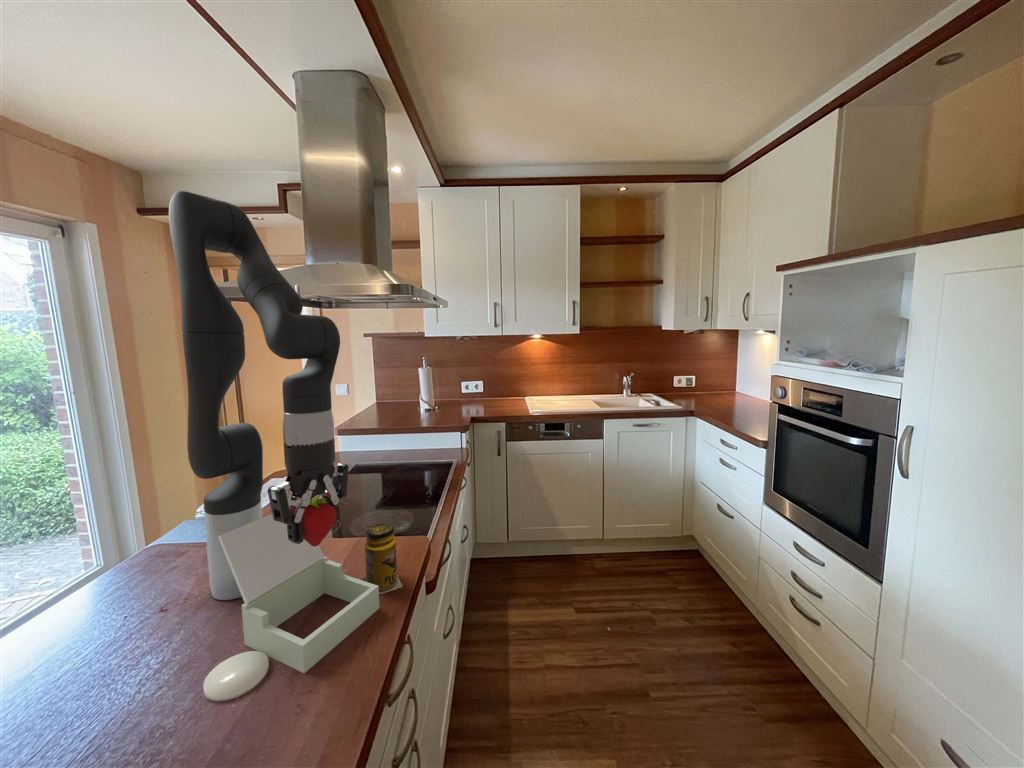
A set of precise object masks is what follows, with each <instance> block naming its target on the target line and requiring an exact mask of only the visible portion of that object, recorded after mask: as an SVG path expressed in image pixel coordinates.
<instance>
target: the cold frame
mask: <svg viewBox="0 0 1024 768" xmlns="http://www.w3.org/2000/svg"><path fill="white" fill-rule="evenodd" d="M218 539H219V541H220V543H221V546H222V548H223V551H224V553H225V556H226V558H227V561H228V563H229V566H230V568H231V571H232V573H233V575H234V578H235V580H236V583H237V585H238V588H239V590H240V593H241V595H242V597H241V599H243V602H244V603H242V604H241V616H242V628H243V630H242V631H243V641H244V643H243V644H244V645H245V646H247V647H249V648H251V649H253V650H254V651H259V652H262V653H264V654H266V655H267V657H268V658H271V659H273V660H275V661H277V662H279V663H282V664H284V665H286V666H287V667H290V668H291V669H294V670H296V671H298V672H300V673H302V674H306V673H307V672H308V671H309V670H310V669H311V668H312V667H314V666H315V665H316V664H317V663H318V662H319V661H320V660H322V659H323V658H324V657H325V656H327V655H328V654H329V653H330V652H331V651H332V650H333V649H334V648H336V647H337V646H338V645H339V644H340V643H341V642H342V641H344V639H346V638H347V637H348V636H349V635H350V634H352V633H353V632H354V631H355V630H356V629H357V628H359V627H360V626H362V624H363V623H364V622H365V621H366V620H368V619H369V618H370V617H371V616H373V615H374V613H376V612H377V611H378V610H379V609H380V594H379V586H377V585H374V584H371V583H368V582H365V581H362V580H359V579H360V578H355V577H352V576H350V575H346V574H344V573H343V564H342V563H340V562H336V561H332V560H329V559H328V557H327V556H325V555H324V553H323V551H322V548H321V546H320V544H319V545H318V546H311V545H310V544H309V543H308V542H307V541H306V540H304V539H303V542H302V543H300V544H296V543H293V542H291V541H290V540H289V539H288V533H287V524H284V523H282V522H278V521H274V519H273V514H272V513H270V514H268V515H265V516H262V518H261V519H258V520H256V521H254V522H251V523H249V524H246V525H244V526H242V527H239V528H237V529H234V530H232V531H230V532H227V533H225V534H222V535H220V536H218ZM324 594H326V595H329V596H332V597H334V598H336V599H340V600H342V601H346V602H348V603H349V604H347V605H346V606H345V607H344V608H342V609H341V610H340V611H339V612H337V613H336V614H335V615H333V616H331V617H330V618H329V619H328V620H327V621H326V622H324V623H323V624H322V625H321V626H319V627H318V628H317V629H314V631H313V632H311V633H310V634H309V635H307V636H306V637H305V638H304V639H303V638H301V637H299V636H296V635H294V634H292V633H290V632H288V631H285V630H283V629H281V628H279V626H280V625H281V624H282V623H284V622H286V621H287V620H288V619H290V618H292V616H294V615H295V614H298V613H299V612H300V611H301V610H303V609H304V608H305V607H307V606H308V605H310V604H311V603H313V602H314V601H316V600H317V599H318V598H320V597H321V596H323V595H324Z"/></svg>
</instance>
